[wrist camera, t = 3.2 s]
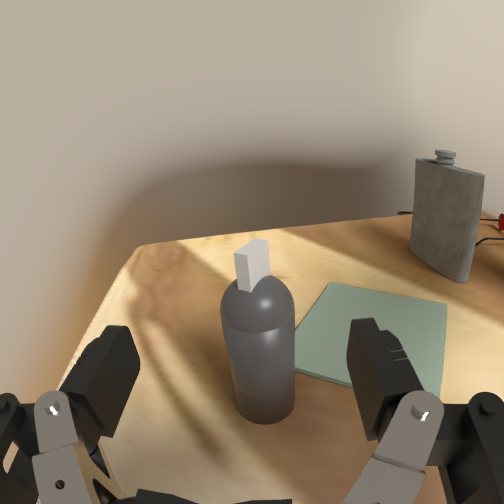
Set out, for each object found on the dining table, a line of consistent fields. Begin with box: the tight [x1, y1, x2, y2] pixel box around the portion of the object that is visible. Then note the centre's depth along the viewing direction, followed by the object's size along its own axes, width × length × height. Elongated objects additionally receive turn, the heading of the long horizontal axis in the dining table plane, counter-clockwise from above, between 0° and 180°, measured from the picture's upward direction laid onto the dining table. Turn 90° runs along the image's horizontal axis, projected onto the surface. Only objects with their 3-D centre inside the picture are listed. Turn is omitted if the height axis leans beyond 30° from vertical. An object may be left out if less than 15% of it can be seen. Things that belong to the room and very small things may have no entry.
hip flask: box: [409, 150, 485, 284], centre depth 44 cm, size 16×4×20 cm, turn 10°
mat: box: [295, 282, 447, 398], centre depth 34 cm, size 18×18×1 cm
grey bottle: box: [220, 238, 295, 424], centre depth 23 cm, size 5×5×16 cm
